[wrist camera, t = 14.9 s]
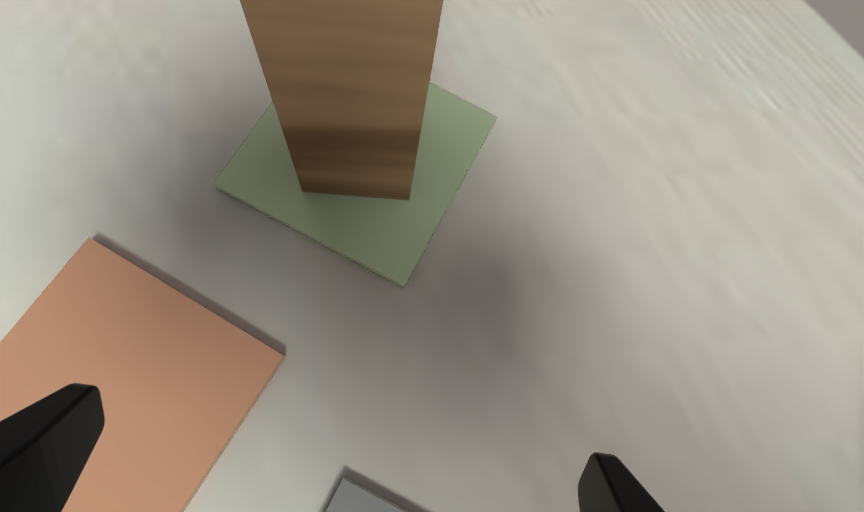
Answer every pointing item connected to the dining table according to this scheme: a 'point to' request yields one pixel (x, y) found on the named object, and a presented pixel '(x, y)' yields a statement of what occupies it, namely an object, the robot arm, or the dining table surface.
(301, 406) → the dining table surface
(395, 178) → the walnut block
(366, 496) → the slate grey tile
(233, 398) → the terracotta tile
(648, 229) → the dining table surface
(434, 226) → the sage green tile
